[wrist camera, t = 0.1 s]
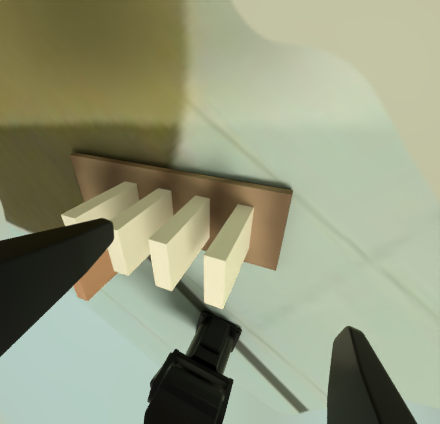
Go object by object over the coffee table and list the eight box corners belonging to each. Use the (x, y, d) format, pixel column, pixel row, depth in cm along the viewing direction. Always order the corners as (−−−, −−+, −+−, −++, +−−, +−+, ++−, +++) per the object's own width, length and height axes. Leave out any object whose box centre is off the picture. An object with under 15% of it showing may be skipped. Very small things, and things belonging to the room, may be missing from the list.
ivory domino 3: (209, 198, 23) (166, 244, 17) (209, 238, 26) (171, 291, 19) (195, 195, 24) (147, 239, 17) (196, 234, 26) (155, 285, 20)
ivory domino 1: (136, 183, 26) (74, 218, 19) (143, 221, 28) (90, 262, 22) (125, 181, 26) (60, 214, 20) (132, 218, 29) (77, 258, 22)
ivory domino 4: (253, 207, 22) (225, 261, 15) (248, 248, 24) (222, 309, 18) (237, 204, 22) (203, 255, 16) (234, 244, 25) (204, 302, 18)
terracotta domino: (124, 233, 32) (76, 271, 26) (130, 260, 35) (87, 301, 29) (115, 231, 33) (65, 268, 26) (122, 257, 35) (78, 297, 29)
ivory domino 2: (171, 190, 24) (117, 230, 18) (174, 229, 27) (128, 276, 20) (158, 188, 25) (101, 225, 18) (162, 226, 27) (114, 271, 21)
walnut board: (293, 190, 21) (291, 194, 20) (277, 264, 25) (275, 270, 24) (77, 152, 28) (69, 154, 27) (95, 214, 33) (89, 218, 32)
